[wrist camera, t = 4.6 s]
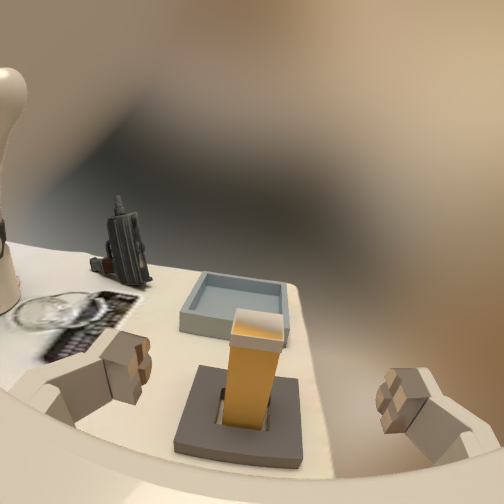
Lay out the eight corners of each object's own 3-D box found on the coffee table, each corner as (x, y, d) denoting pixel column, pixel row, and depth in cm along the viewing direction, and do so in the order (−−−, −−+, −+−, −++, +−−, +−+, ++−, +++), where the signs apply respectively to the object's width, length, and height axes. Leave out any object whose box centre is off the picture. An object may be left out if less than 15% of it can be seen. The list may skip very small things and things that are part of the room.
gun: (85, 203, 56) (136, 191, 51) (101, 279, 60) (153, 280, 55) (76, 205, 53) (127, 193, 48) (93, 283, 57) (145, 285, 52)
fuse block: (174, 451, 23) (173, 441, 23) (198, 376, 35) (199, 364, 34) (298, 468, 23) (303, 459, 22) (294, 390, 34) (297, 378, 34)
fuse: (220, 431, 27) (230, 333, 23) (225, 404, 31) (236, 308, 27) (260, 436, 27) (284, 341, 23) (262, 409, 31) (283, 314, 27)
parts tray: (179, 331, 43) (179, 311, 42) (202, 287, 59) (203, 270, 57) (285, 347, 43) (289, 328, 42) (283, 299, 58) (286, 283, 57)
